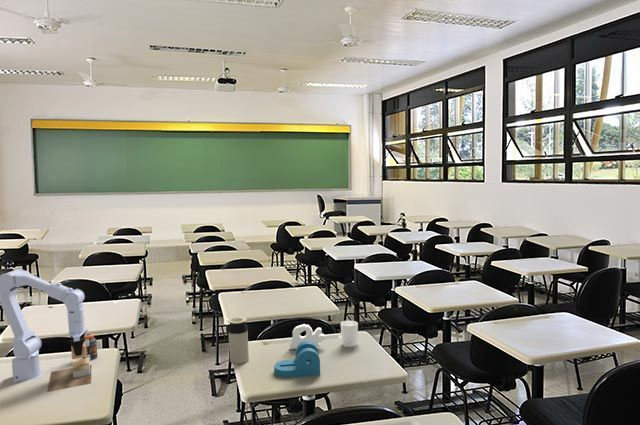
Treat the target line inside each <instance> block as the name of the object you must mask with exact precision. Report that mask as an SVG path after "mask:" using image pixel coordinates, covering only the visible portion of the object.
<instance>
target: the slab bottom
mask: <svg viewBox="0 0 640 425" xmlns="http://www.w3.org/2000/svg"><path fill="white" fill-rule="evenodd" d="M86 375H90V367H89V369H85V370H80V371H75V372H73V378H75V377H80V376H86Z"/></svg>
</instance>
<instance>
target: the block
mask: <svg viewBox="0 0 640 425" xmlns="http://www.w3.org/2000/svg"><path fill="white" fill-rule="evenodd" d="M70 349H71V360H78V359H83V358H84V357H86V343H85V342H84V343H83V347H82V355H80V356H76V355H75V353H74V349H73V347H72V346H71V348H70Z"/></svg>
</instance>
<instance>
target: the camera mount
mask: <svg viewBox="0 0 640 425" xmlns="http://www.w3.org/2000/svg"><path fill="white" fill-rule="evenodd" d="M318 350H319V349H317V347H316V345H315V344H314V343H312V342H310V341H304V342H302V343H300V344H299V345H298V346H297V348H296V349H295V358H293V359H284V360H279V361H277V362H276V363H275V364H274V365H273V368H274V369H273V370H274V372H273V373H274V375H275V376H276V377H279V378H282V379H283V378H284V379H285V378H286V379H287V378H288V379H290V378H303V377H304V378H305V377H318V376H321V360H320V355H319V351H318Z"/></svg>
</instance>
